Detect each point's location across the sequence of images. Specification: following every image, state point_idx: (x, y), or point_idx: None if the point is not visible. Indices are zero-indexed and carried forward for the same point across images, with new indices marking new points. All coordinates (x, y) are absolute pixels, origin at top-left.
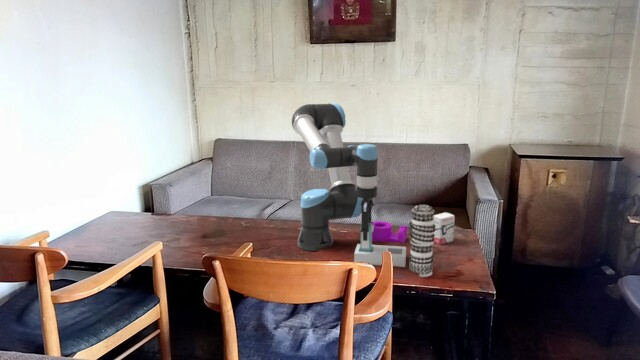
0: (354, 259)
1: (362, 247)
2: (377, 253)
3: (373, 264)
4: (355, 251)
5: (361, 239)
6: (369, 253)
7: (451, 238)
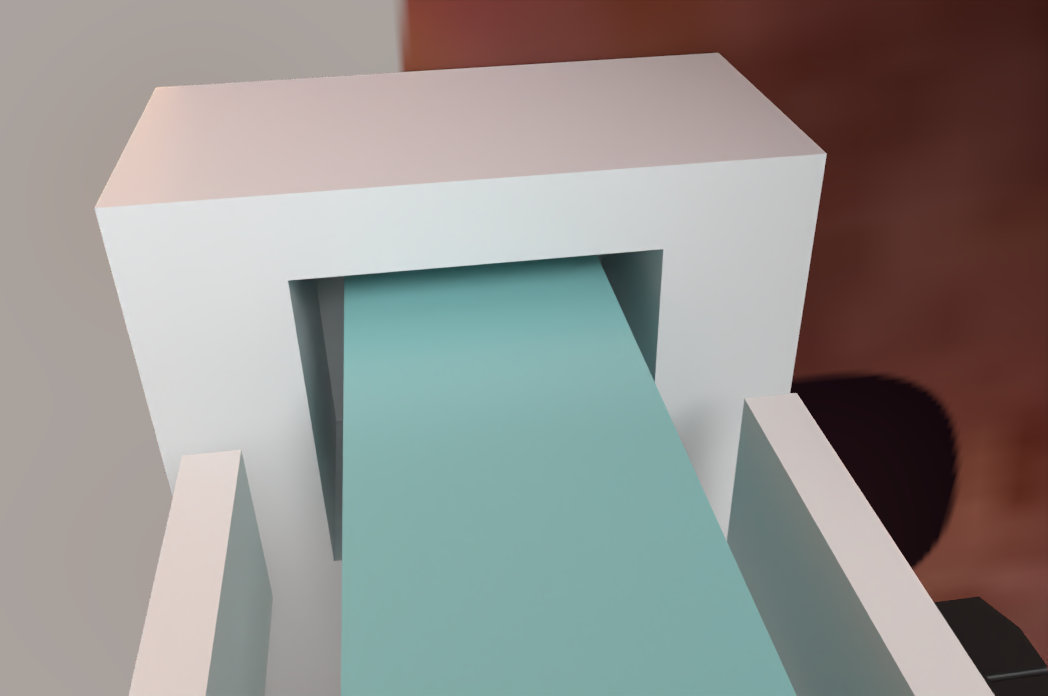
0: (128, 147)
1: (183, 487)
2: (292, 645)
3: None
4: (249, 211)
5: (343, 562)
6: None
7: None
